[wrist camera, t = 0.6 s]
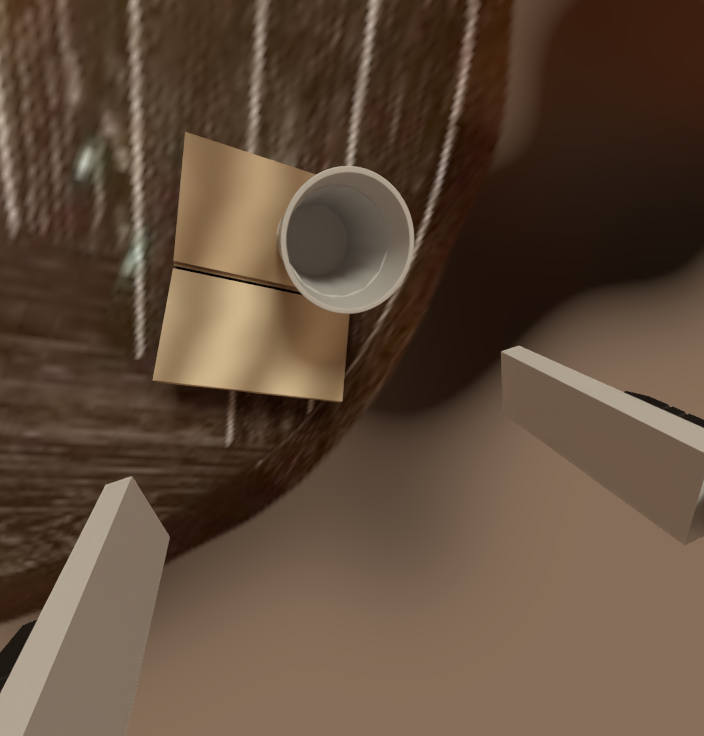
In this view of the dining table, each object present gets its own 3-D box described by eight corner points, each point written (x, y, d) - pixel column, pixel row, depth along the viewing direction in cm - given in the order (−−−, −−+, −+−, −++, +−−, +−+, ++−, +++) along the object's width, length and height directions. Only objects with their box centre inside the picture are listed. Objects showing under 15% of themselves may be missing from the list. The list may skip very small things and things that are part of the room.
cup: (334, 299, 34) (380, 331, 23) (251, 265, 30) (259, 283, 20) (369, 216, 32) (436, 209, 21) (285, 170, 29) (314, 134, 18)
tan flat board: (175, 264, 29) (173, 265, 28) (187, 135, 26) (185, 131, 25) (347, 300, 34) (351, 303, 33) (373, 196, 31) (377, 195, 30)
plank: (155, 382, 28) (152, 380, 27) (174, 274, 29) (173, 268, 28) (338, 402, 33) (342, 401, 32) (345, 309, 34) (350, 305, 33)
